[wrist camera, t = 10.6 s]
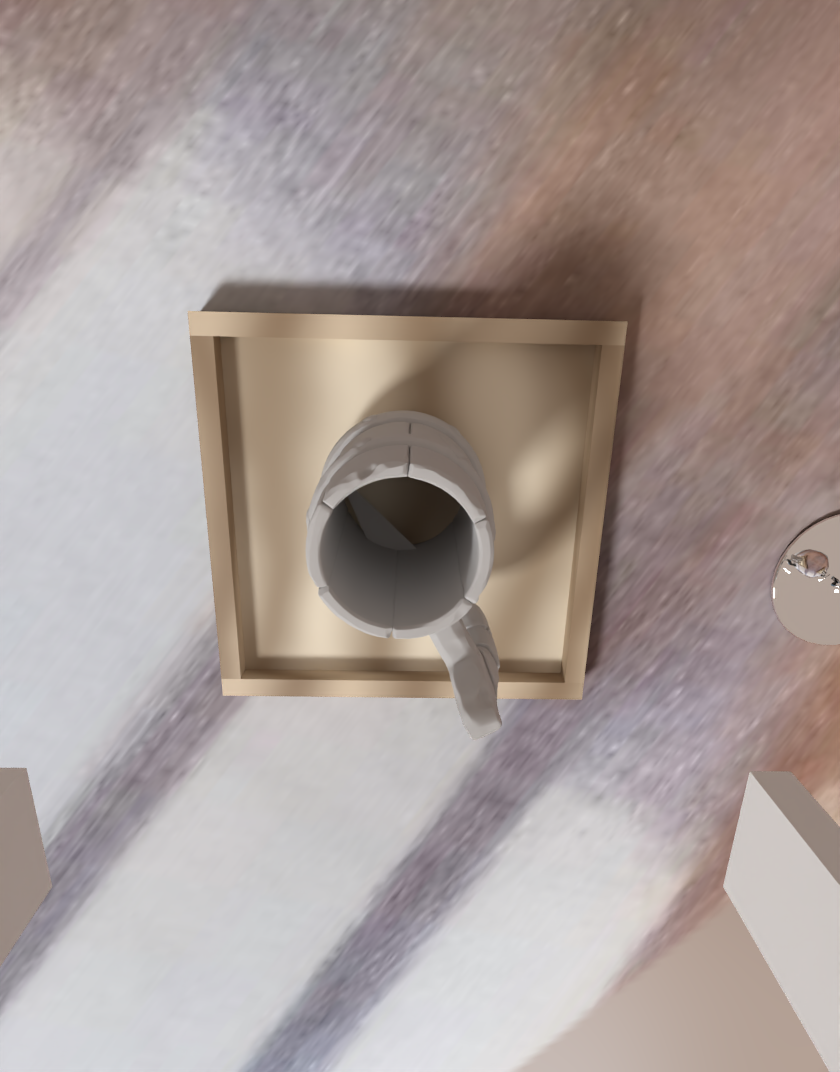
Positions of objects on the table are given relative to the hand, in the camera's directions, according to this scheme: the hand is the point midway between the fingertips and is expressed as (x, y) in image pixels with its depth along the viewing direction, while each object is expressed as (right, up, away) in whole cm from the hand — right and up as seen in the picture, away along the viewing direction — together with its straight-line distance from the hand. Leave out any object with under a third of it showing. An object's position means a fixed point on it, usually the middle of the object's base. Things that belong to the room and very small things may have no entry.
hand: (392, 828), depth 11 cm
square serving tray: (0, +6, +19) cm, 20 cm away
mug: (+1, +6, +19) cm, 20 cm away
